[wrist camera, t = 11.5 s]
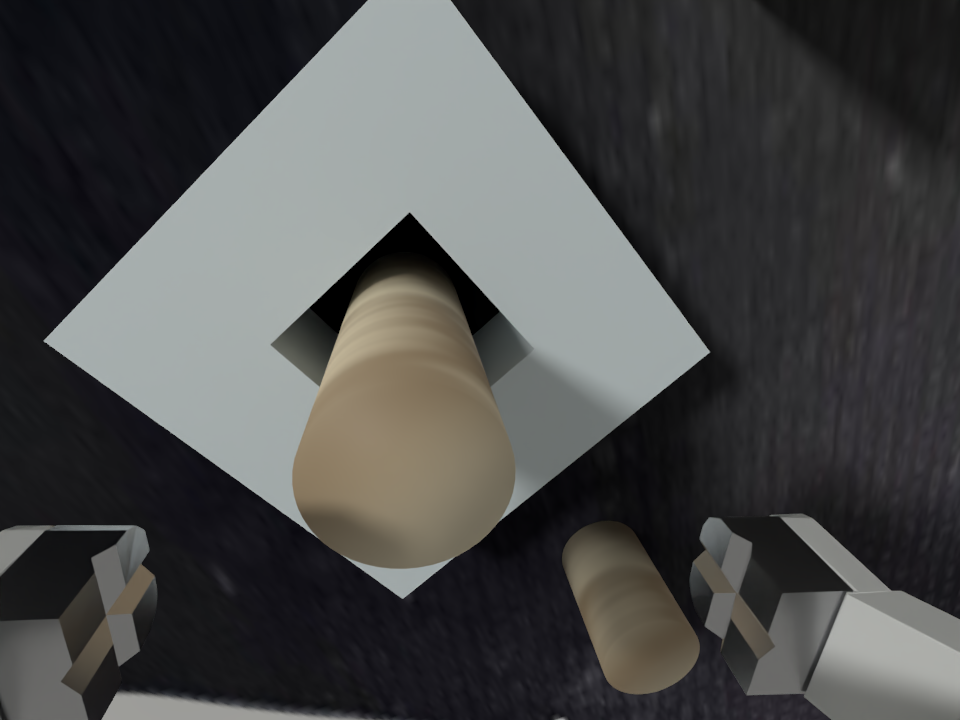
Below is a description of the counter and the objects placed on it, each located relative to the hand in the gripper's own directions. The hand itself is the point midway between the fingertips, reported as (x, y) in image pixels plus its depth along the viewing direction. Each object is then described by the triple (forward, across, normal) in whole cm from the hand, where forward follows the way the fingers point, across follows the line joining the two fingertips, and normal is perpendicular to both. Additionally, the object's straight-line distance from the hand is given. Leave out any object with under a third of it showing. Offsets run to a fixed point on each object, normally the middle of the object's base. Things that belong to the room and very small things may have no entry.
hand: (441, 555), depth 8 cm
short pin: (+14, -9, +13) cm, 21 cm away
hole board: (+14, +1, 0) cm, 14 cm away
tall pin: (+14, +1, 0) cm, 14 cm away
